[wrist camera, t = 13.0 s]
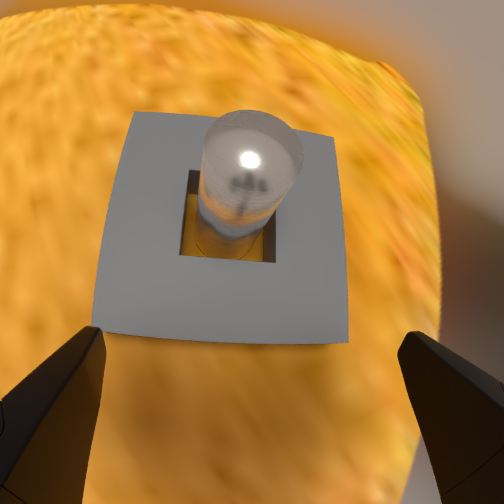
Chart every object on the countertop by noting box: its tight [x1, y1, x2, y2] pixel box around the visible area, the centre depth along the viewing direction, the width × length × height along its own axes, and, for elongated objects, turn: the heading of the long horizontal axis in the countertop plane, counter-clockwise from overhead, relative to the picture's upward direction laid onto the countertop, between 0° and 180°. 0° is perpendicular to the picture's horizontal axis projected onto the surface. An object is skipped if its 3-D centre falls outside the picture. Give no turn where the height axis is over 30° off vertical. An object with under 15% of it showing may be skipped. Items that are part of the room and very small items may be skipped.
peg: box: [194, 110, 304, 260], centre depth 18 cm, size 4×4×11 cm
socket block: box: [91, 111, 348, 344], centre depth 21 cm, size 16×16×4 cm
